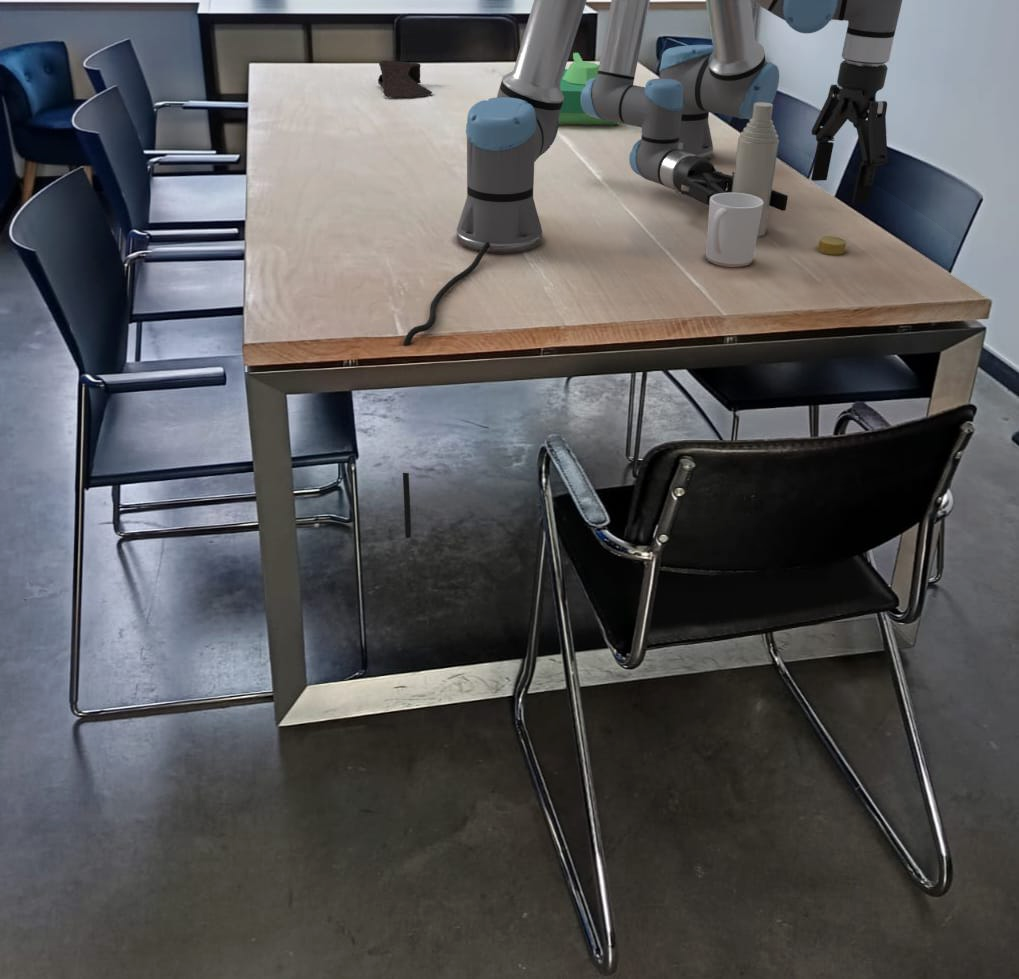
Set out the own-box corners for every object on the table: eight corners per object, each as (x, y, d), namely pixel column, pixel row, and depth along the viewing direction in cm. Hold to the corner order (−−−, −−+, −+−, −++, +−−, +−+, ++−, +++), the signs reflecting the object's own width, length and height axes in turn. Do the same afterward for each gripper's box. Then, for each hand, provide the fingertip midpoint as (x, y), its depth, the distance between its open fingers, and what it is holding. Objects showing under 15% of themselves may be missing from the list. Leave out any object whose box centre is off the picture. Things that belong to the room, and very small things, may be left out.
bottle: (766, 227, 205) (784, 101, 194) (764, 238, 200) (783, 110, 188) (728, 223, 207) (744, 98, 195) (725, 235, 201) (741, 107, 189)
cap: (813, 247, 196) (814, 237, 195) (835, 245, 197) (837, 235, 196) (826, 255, 192) (828, 245, 191) (849, 253, 194) (851, 243, 193)
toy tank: (607, 49, 292) (625, 75, 262) (604, 97, 299) (621, 128, 269) (541, 48, 291) (552, 74, 261) (539, 96, 298) (549, 127, 268)
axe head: (443, 87, 294) (392, 77, 287) (436, 115, 299) (385, 106, 292) (421, 62, 307) (371, 52, 300) (414, 89, 311) (365, 80, 304)
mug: (719, 246, 195) (726, 189, 189) (764, 258, 190) (773, 199, 185) (687, 262, 187) (693, 203, 182) (733, 275, 183) (741, 214, 177)
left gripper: (929, 77, 169) (898, 212, 180) (844, 47, 189) (821, 170, 200) (887, 78, 167) (858, 214, 178) (806, 47, 187) (784, 171, 199)
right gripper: (725, 187, 220) (806, 218, 203) (645, 200, 211) (723, 235, 194) (730, 149, 216) (813, 178, 199) (649, 161, 207) (728, 192, 190)
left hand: (838, 191), depth 189 cm, fingers open, 13 cm apart
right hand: (768, 206), depth 197 cm, fingers closed on bottle, 7 cm apart
